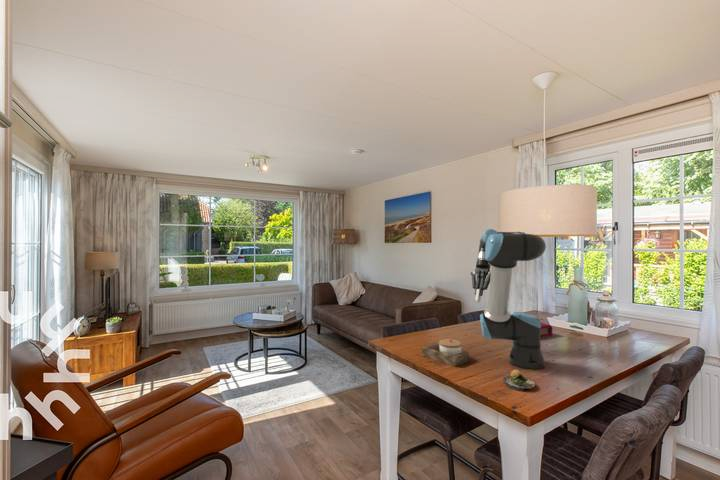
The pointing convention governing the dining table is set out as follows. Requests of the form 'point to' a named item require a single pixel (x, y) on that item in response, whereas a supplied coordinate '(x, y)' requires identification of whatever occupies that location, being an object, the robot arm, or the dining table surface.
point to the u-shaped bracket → (444, 355)
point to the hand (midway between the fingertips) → (477, 301)
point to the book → (546, 330)
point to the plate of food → (517, 381)
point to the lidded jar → (450, 346)
